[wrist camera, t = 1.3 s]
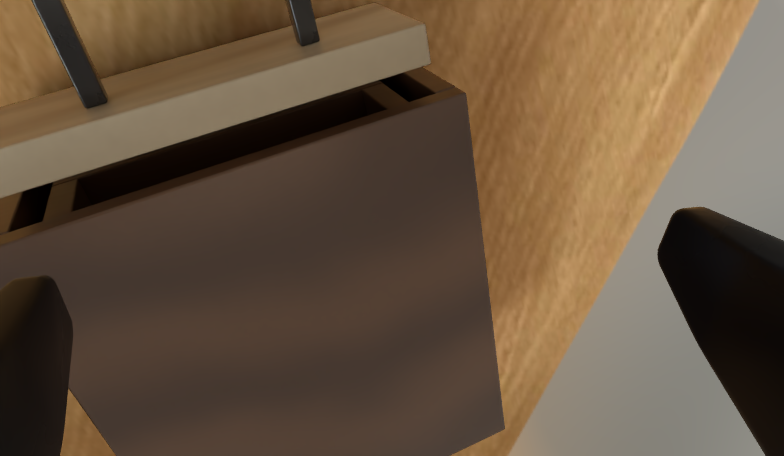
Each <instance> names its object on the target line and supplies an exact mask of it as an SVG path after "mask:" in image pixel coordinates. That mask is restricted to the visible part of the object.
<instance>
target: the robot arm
mask: <svg viewBox="0 0 784 456" xmlns="http://www.w3.org/2000/svg"><path fill="white" fill-rule="evenodd" d="M658 262H659V264H660V267H661V269H662V271H663V273H664V275H665V277H666V279H667V282H668V284H669V286H670V287H671V290H672V292H673V294H674V296H675V298H676V300H677V302H678V304H679V307H680V309H681V311H682V313H683V315H684V317H685V319H686V321H687V323H688V325H689V327H690V329H691V332H692V333H693V335H694V337H695V339H696V341H697V343H698V345H699V347H700V348H701V350H702V352H703V354H704V355H705V357H706V359H707V360H708V362H709V364H710V365H711V367H712V369H713V370H714V372H715V374H716V375H717V377H718V378H719V380H720V381H721V383H722V385H723V387H724V388H725V390H726V392H727V393H728V395H729V397H730V398H731V400H732V401H733V403H734V405H735V406H736V408H737V409H738V411H739V413H740V415H741V416H742V418H743V419H744V421H745V423H746V424H747V426H748V428H749V429H750V431H751V432H752V434H753V436H754V437H755V439H756V441H757V442H758V444H759V446H760V447H761V449H762V451H763V452H764V454H765V456H784V241H783V240H781V239H778V238H776V237H774V236H771V235H769V234H766V233H764V232H762V231H759V230H757V229H754V228H752V227H750V226H747V225H745V224H743V223H741V222H738V221H736V220H734V219H731V218H729V217H726V216H724V215H722V214H719V213H717V212H715V211H712V210H710V209H707V208H705V207H692V208H683V209H679V210H677V211H676V212H675V213H674V214H673V215H672V217H671V219H670V221H669V224H668V226H667V229H666V231H665V233H664V236H663V238H662V241H661V243H660V245H659V248H658ZM72 345H73V324H72V320H71V317H70V315H69V312H68V310H67V308H66V305H65V303H64V300H63V298H62V296H61V293H60V291H59V289H58V286H57V284H56V282H55V281H54V279H53V278H52V277H50V276H48V275H39V276H29V277H20V278H16V279H14V280H12V281H10V282H9V283H8V284H7V285H5V286H4V287H3V288H2V289H1V290H0V456H60V452H61V447H62V441H63V433H64V425H65V415H66V405H67V395H68V385H69V375H70V365H71V355H72Z"/></svg>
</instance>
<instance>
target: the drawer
mask: <svg viewBox="0 0 784 456" xmlns="http://www.w3.org/2000/svg"><path fill="white" fill-rule="evenodd" d="M285 1H286V5H287V8H288V12H289V16H290V20H291V23H292V26H288V27H285V28H281V29H278V30H274V31H271V32H267V33H263V34H260V35H256V36H253V37H249V38H246V39H242V40H238V41H235V42H231V43H228V44H224V45H221V46H217V47H213V48H210V49H206V50H203V51H199V52H196V53H192V54H188V55H185V56H181V57H178V58H174V59H171V60H167V61H163V62H160V63H156V64H153V65H149V66H146V67H142V68H138V69H135V70H131V71H128V72H124V73H121V74H117V75H113V76H110V77H106V78H103V79H100V78H99V75H98V73H97V71H96V69H95V67H94V65H93V62H92V60H91V58H90V56H89V54H88V52H87V50H86V47H85V45H84V43H83V41H82V39H81V37H80V35H79V32H78V30H77V28H76V26H75V24H74V22H73V20H72V17H71V15H70V13H69V11H68V9H67V7H66V4H65V2H64V0H32V2H33V4H34V6H35V9H36V11H37V13H38V15H39V17H40V19H41V21H42V23H43V25H44V27H45V29H46V31H47V33H48V35H49V37H50V39H51V41H52V43H53V45H54V47H55V49H56V51H57V53H58V55H59V57H60V59H61V61H62V63H63V65H64V67H65V69H66V71H67V73H68V75H69V77H70V79H71V81H72V83H73V85H74V87H71V88H67V89H63V90H60V91H56V92H53V93H49V94H46V95H42V96H38V97H35V98H31V99H28V100H24V101H21V102H17V103H13V104H10V105H6V106H3V107H0V198H3V197H7V196H10V195H13V194H16V193H19V192H23V191H26V190H29V189H32V188H35V187H39V186H42V185H45V184H48V183H51V182H53V183H52V187H51V191H50V195H49V198H48V202H47V206H46V210H45V214H44V218H43V221H46V220H49V219H52V218H55V217H58V216H61V215H64V214H67V213H70V212H73V211H76V210H79V209H82V208H86V207H89V206H92V205H95V204H98V203H101V202H104V201H107V200H110V199H113V198H116V197H119V196H122V195H126V194H129V193H132V192H135V191H138V190H141V189H144V188H147V187H150V186H153V185H156V184H159V183H162V182H165V181H169V180H172V179H175V178H178V177H181V176H184V175H187V174H190V173H193V172H196V171H199V170H202V169H205V168H208V167H212V166H215V165H218V164H221V163H224V162H227V161H230V160H233V159H236V158H239V157H242V156H245V155H248V154H252V153H255V152H258V151H261V150H264V149H267V148H270V147H273V146H276V145H279V144H282V143H285V142H288V141H291V140H295V139H298V138H301V137H304V136H307V135H310V134H313V133H316V132H319V131H322V130H325V129H328V128H331V127H334V126H338V125H341V124H344V123H347V122H350V121H353V120H356V119H359V118H362V117H365V116H368V115H371V114H374V113H377V112H381V111H384V110H387V109H390V108H393V107H396V106H399V105H402V104H405V103H408V101H407V100H405V99H404V98H403V97H401V96H400V95H398V94H397V93H396V92H394V91H393V90H392V89H390V88H389V87H387V86H386V85H385V84H383V83H382V82H381V81H379V80H381V79H384V78H388V77H391V76H394V75H397V74H400V73H404V72H407V71H410V70H413V69H416V68H420V67H423V66H426V65H429V64H431V60H430V53H429V46H428V39H427V32H426V25H425V23H422V22H420V21H418V20H415V19H413V18H410V17H408V16H406V15H403V14H401V13H398V12H396V11H394V10H391V9H389V8H386V7H384V6H382V5H379V4H377V3H370V4H367V5H363V6H360V7H356V8H353V9H349V10H345V11H342V12H338V13H335V14H331V15H328V16H324V17H320V18H317V19H315V17H314V13H313V9H312V5H311V1H310V0H285ZM43 221H42V222H43Z"/></svg>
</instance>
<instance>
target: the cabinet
mask: <svg viewBox="0 0 784 456" xmlns="http://www.w3.org/2000/svg"><path fill="white" fill-rule="evenodd" d="M379 81H381V82H382V83H383V84H385V85H386V86H387V87H389V88H390V89H392V90H393V91H394V92H396V93H397V94H398V95H400V96H401V97H403V98H404V99H405V100H407V101H408V103H405V104H402V105H399V106H396V107H393V108H390V109H387V110H384V111H381V112H377V113H374V114H371V115H368V116H365V117H362V118H359V119H356V120H353V121H350V122H347V123H344V124H341V125H338V126H334V127H331V128H328V129H325V130H322V131H319V132H316V133H313V134H310V135H307V136H304V137H301V138H298V139H295V140H291V141H288V142H285V143H282V144H279V145H276V146H273V147H270V148H267V149H264V150H261V151H258V152H255V153H252V154H248V155H245V156H242V157H239V158H236V159H233V160H230V161H227V162H224V163H221V164H218V165H215V166H212V167H208V168H205V169H202V170H199V171H196V172H193V173H190V174H187V175H184V176H181V177H178V178H175V179H172V180H169V181H165V182H162V183H159V184H156V185H153V186H150V187H147V188H144V189H141V190H138V191H135V192H132V193H129V194H126V195H122V196H119V197H116V198H113V199H110V200H107V201H104V202H101V203H98V204H95V205H92V206H89V207H86V208H82V209H79V210H76V211H73V212H70V213H67V214H64V215H61V216H58V217H55V218H52V219H49V220H46V221H43V218H44V214H45V210H46V206H47V202H48V198H49V195H50V191H51V187H52V183H53V182H51V183H48V184H45V185H42V186H39V187H35V188H32V189H29V190H26V191H23V192H19V193H16V194H13V195H10V196H7V197H3V198H0V290H1V289H2V288H3V287H4V286H5V285H7V284H8V283H9V282H10V281H12V280H14V279H16V278H20V277H29V276H39V275H48V276H50V277H52V278H53V279H54V281H55V282H56V284H57V286H58V289H59V291H60V293H61V296H62V298H63V300H64V303H65V305H66V308H67V310H68V312H69V315H70V317H71V320H72V324H73V345H72V355H71V365H70V375H69V385H68V388H69V389H70V391H71V392H72V394H73V395H74V396H75V398H76V399H77V401H78V402H79V404H80V405H81V406H82V408H83V409H84V411H85V412H86V413H87V415H88V416H89V418H90V419H91V421H92V422H93V423H94V425H95V426H96V428H97V429H98V430H99V432H100V433H101V435H102V436H103V438H104V439H105V440H106V442H107V443H108V445H109V446H110V448H111V449H112V450H113V452H114V453H115V455H116V456H450V455H452V454H454V453H456V452H458V451H460V450H462V449H465V448H467V447H469V446H471V445H473V444H475V443H477V442H479V441H481V440H483V439H485V438H487V437H490V436H492V435H494V434H496V433H498V432H500V431H502V430H504V429H505V426H504V417H503V409H502V400H501V392H500V383H499V374H498V366H497V357H496V348H495V340H494V331H493V322H492V314H491V305H490V297H489V288H488V279H487V271H486V262H485V253H484V245H483V236H482V228H481V219H480V210H479V202H478V193H477V184H476V176H475V167H474V158H473V150H472V141H471V133H470V124H469V115H468V107H467V98H466V93H465V92H463V91H462V90H460V89H458V88H456V87H455V86H454V85H452V84H450V83H448V82H447V81H445V80H443V79H441V78H440V77H438V76H436V75H434V74H433V73H431V72H429V71H427V70H426V69H424V68H422V67H420V68H416V69H413V70H410V71H407V72H404V73H400V74H397V75H394V76H391V77H388V78H384V79H381V80H379ZM42 221H43V222H42Z"/></svg>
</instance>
